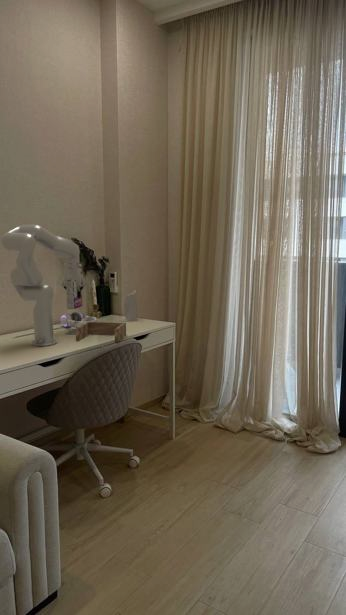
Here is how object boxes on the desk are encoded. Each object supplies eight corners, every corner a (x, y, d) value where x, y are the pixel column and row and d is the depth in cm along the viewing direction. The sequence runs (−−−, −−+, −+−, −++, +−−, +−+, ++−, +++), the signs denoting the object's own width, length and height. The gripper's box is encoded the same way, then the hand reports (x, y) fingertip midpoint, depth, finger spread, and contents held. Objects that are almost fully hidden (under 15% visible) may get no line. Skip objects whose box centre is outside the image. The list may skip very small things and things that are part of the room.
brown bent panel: (117, 342, 238) (116, 329, 237) (76, 341, 242) (75, 328, 241) (126, 334, 256) (125, 322, 255) (88, 333, 260) (87, 321, 259)
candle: (117, 319, 305) (116, 289, 302) (137, 319, 303) (137, 289, 300) (114, 321, 298) (114, 291, 294) (135, 321, 296) (135, 291, 293)
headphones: (54, 326, 276) (84, 334, 268) (55, 314, 275) (84, 321, 266) (77, 320, 296) (105, 327, 287) (78, 309, 295) (106, 315, 286)
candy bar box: (74, 306, 268) (73, 278, 266) (82, 306, 267) (81, 278, 265) (66, 309, 257) (65, 280, 255) (74, 309, 256) (73, 280, 254)
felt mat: (78, 334, 258) (78, 334, 258) (65, 334, 259) (65, 333, 259) (85, 330, 270) (85, 329, 270) (72, 329, 271) (72, 329, 271)
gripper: (89, 265, 261) (90, 297, 264) (61, 265, 263) (62, 296, 266) (85, 266, 253) (86, 298, 256) (56, 266, 256) (57, 298, 259)
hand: (74, 297), depth 261 cm, fingers closed on candy bar box, 5 cm apart
